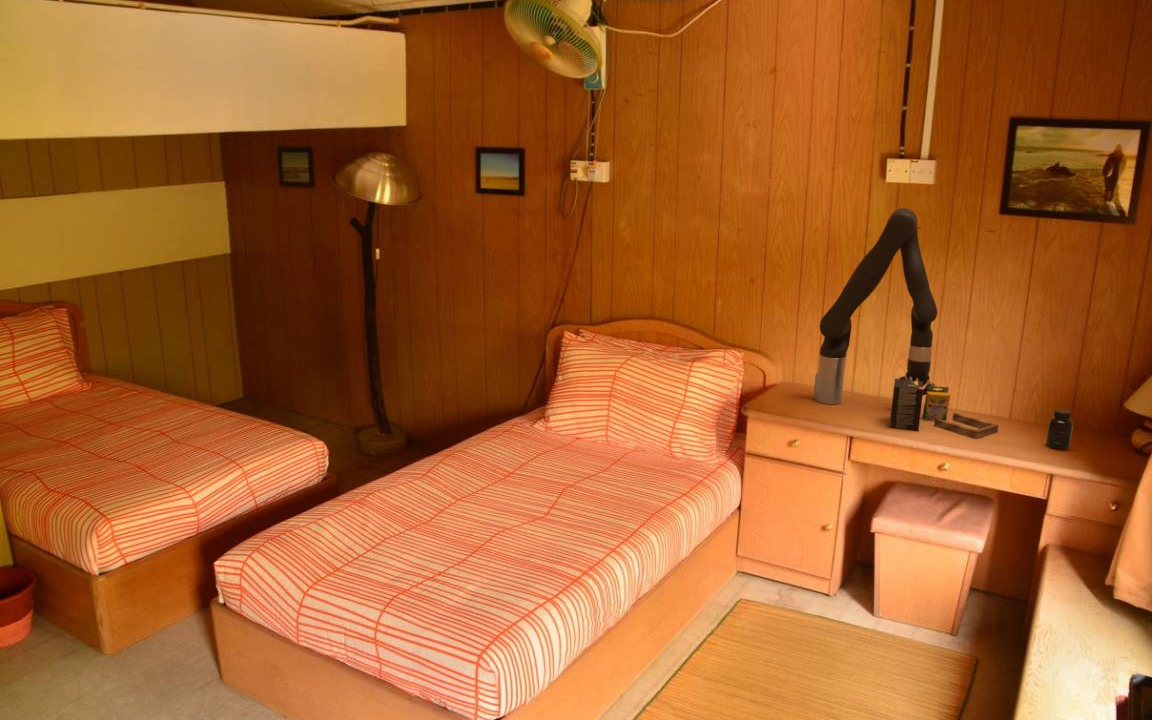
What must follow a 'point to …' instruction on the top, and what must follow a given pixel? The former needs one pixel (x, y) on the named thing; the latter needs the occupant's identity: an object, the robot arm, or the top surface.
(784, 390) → the top surface
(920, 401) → the tampon box
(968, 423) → the bay
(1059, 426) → the supplement bottle
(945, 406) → the crayon box
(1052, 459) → the top surface
